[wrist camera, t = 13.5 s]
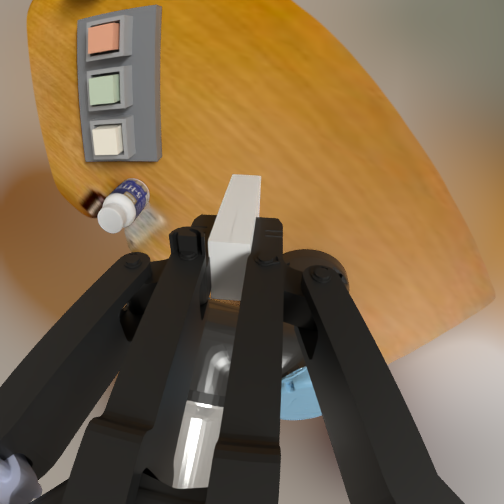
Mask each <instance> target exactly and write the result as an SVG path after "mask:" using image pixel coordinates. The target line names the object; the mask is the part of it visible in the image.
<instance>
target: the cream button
mask: <svg viewBox="0 0 504 504" xmlns="http://www.w3.org/2000/svg"><path fill="white" fill-rule="evenodd" d="M92 133H93V142H94V151H95V155H118V154H119V153H121V152H122V151H123V150H124V147H123V135H122V123H116V124H103V125H101V126H99V127H97V128H95V129H93V130H92Z"/></svg>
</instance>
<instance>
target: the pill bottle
mask: <svg viewBox="0 0 504 504" xmlns="http://www.w3.org/2000/svg"><path fill="white" fill-rule="evenodd" d="M149 197H150V194H149V190H148V188H147V186H146V185H145V184H144V183H143V182H142V181H140V180H138V179H135V178H130V179H127V180H125V181H124V182H122V183H121V184H120V185H119V186H118V187H117V188H116V189H115V190H114V191H113V192H112V193H111V194H110V195H109V196H108V197H107V198H106V199H105V200H104V203H103V207H102V209H101V210H100V211H99V213H98V222H99V224H100V226H101V227H102V228H103V229H104V230H105V231H107V232H109V233H117V232H119V231H120V230H121V229H122V228H123V227H127V226H129V225H130V224H132V223H133V221H134V220H135V219H136V218H137V216H138V215H139V214H140V212H141V211H142V210H143V209H144V207H145V206H146V205H147V203H148V201H149Z"/></svg>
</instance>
